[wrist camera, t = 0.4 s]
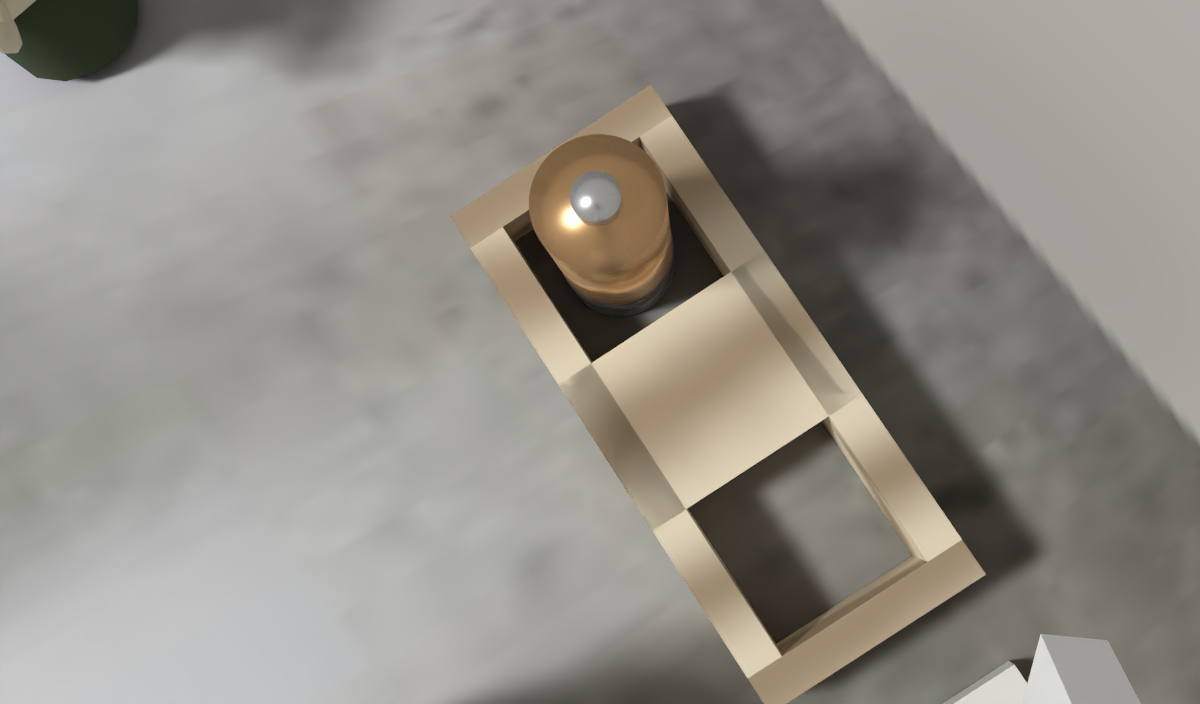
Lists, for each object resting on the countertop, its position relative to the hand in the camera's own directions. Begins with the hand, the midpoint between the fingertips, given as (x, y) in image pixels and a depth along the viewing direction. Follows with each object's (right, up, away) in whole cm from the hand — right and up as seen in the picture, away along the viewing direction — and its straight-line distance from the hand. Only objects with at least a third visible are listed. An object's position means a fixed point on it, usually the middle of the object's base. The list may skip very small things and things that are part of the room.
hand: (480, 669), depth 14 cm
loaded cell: (+2, +8, +33) cm, 34 cm away
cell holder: (+6, +2, +32) cm, 33 cm away
